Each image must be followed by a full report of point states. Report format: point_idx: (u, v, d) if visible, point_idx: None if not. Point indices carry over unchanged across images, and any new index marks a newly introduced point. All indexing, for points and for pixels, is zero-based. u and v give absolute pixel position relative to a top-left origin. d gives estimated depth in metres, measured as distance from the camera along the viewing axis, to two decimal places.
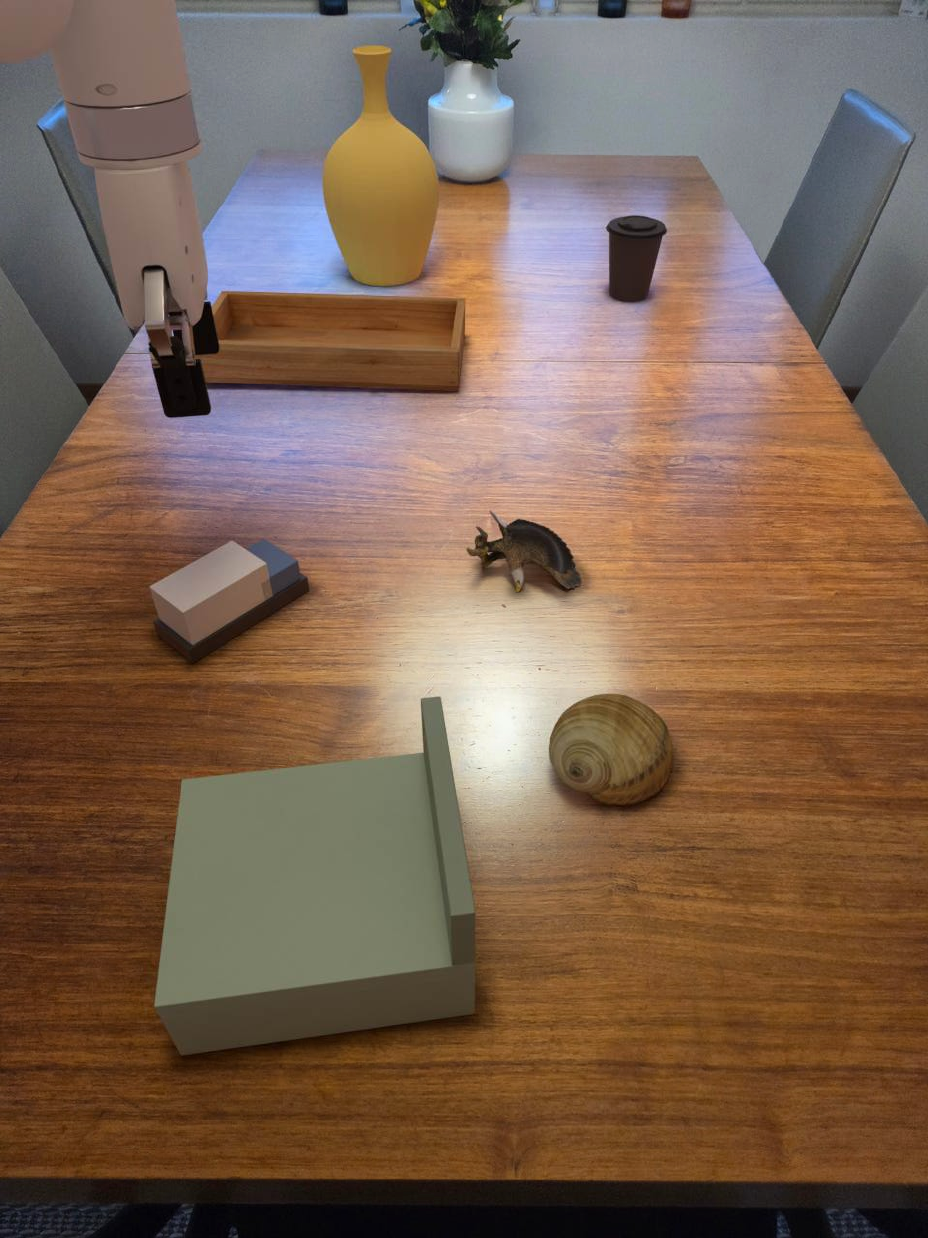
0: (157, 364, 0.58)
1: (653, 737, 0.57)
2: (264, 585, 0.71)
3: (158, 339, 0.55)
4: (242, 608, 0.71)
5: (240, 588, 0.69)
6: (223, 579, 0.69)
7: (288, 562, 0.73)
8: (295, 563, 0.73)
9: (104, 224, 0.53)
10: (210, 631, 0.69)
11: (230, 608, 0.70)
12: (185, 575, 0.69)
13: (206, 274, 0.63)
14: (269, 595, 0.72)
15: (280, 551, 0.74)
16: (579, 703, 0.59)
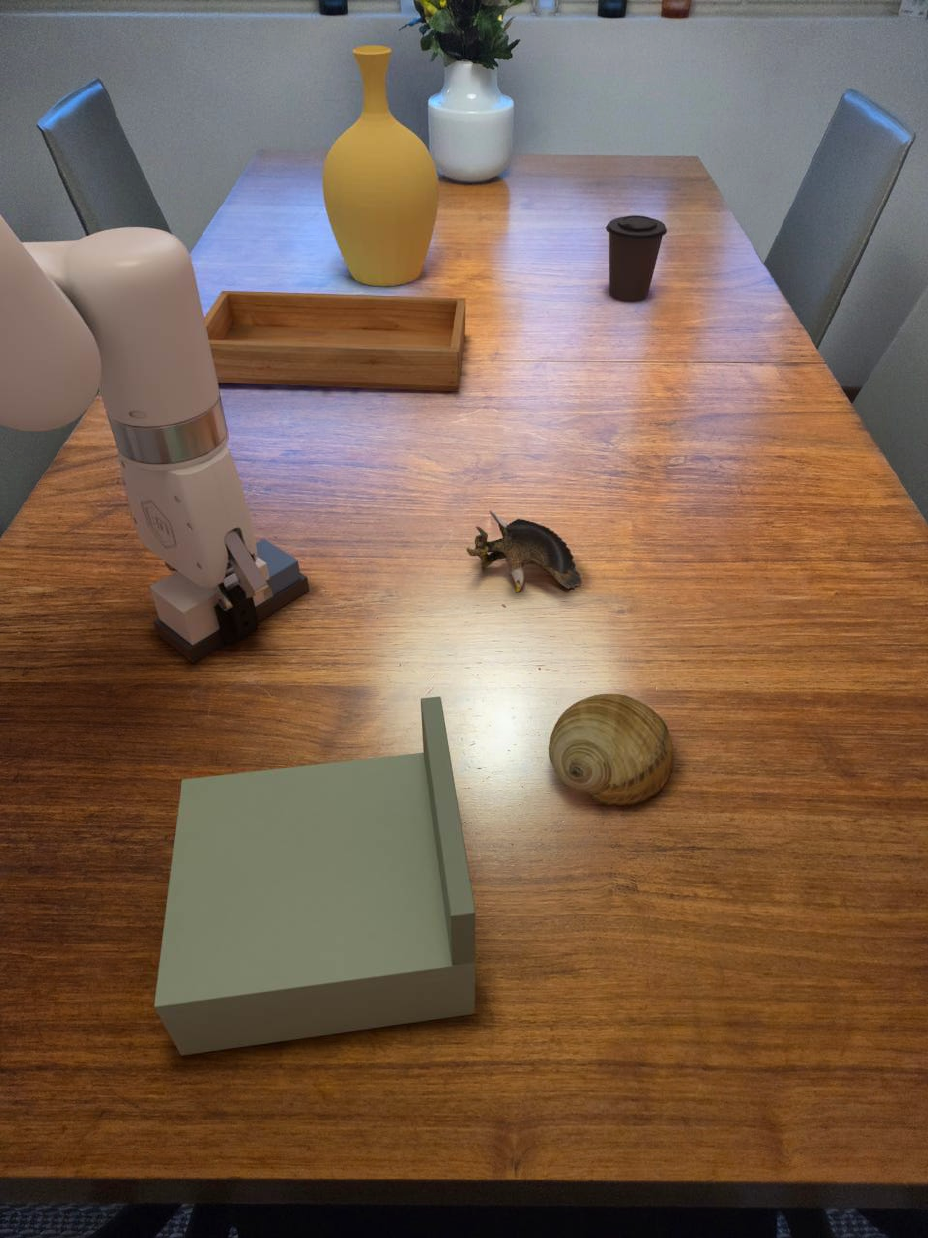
0: (230, 608, 0.67)
1: (653, 737, 0.57)
2: None
3: None
4: None
5: None
6: None
7: (288, 562, 0.73)
8: (295, 563, 0.73)
9: (192, 513, 0.60)
10: (210, 631, 0.69)
11: None
12: None
13: None
14: (268, 595, 0.72)
15: (280, 551, 0.74)
16: (579, 703, 0.59)
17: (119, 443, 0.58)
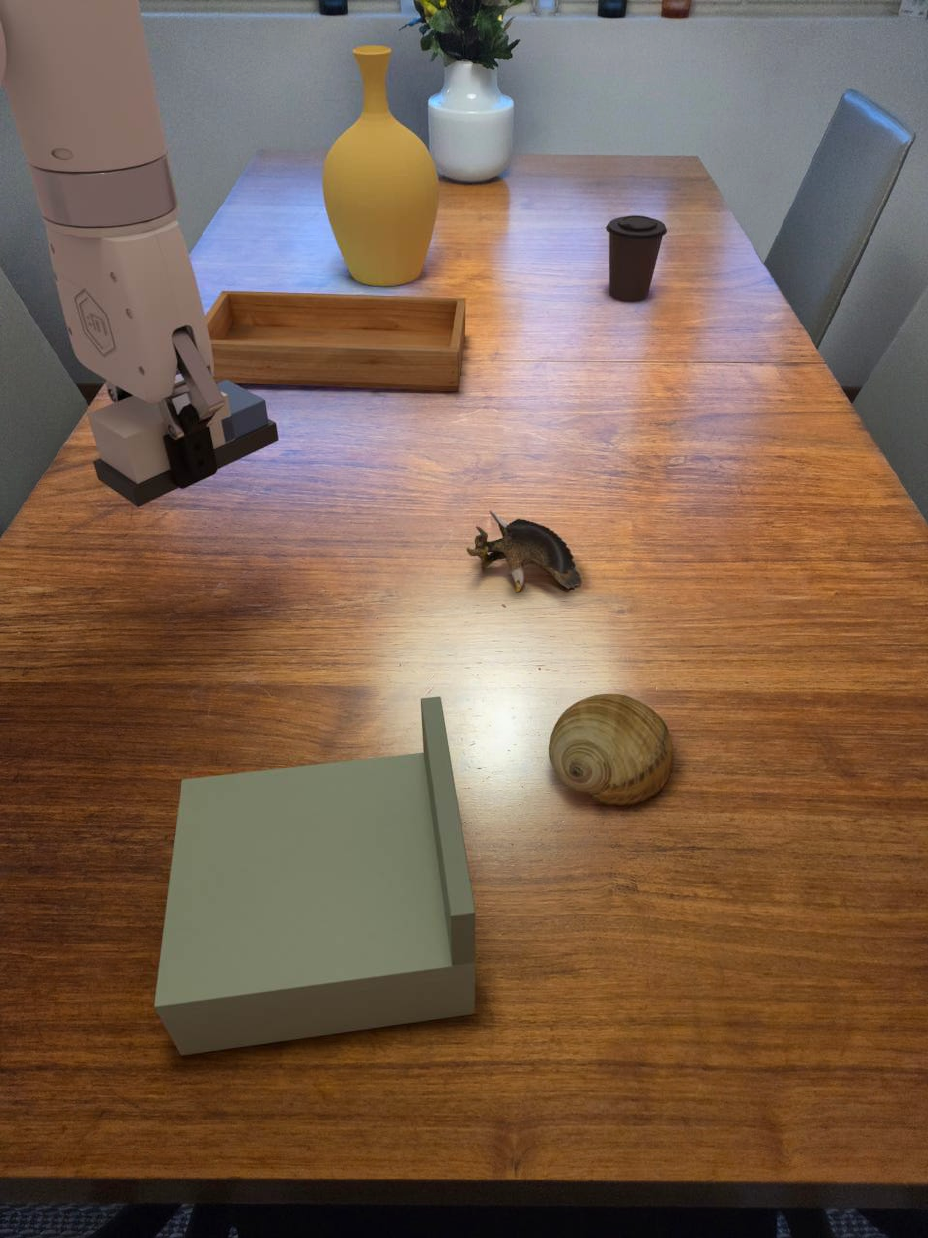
0: (182, 436, 0.57)
1: (654, 737, 0.57)
2: (225, 423, 0.61)
3: (211, 412, 0.55)
4: None
5: None
6: (175, 407, 0.59)
7: (254, 401, 0.63)
8: (262, 402, 0.63)
9: (131, 295, 0.49)
10: (159, 469, 0.59)
11: None
12: (130, 404, 0.59)
13: None
14: (230, 437, 0.62)
15: (245, 391, 0.64)
16: (579, 703, 0.59)
17: (43, 203, 0.48)
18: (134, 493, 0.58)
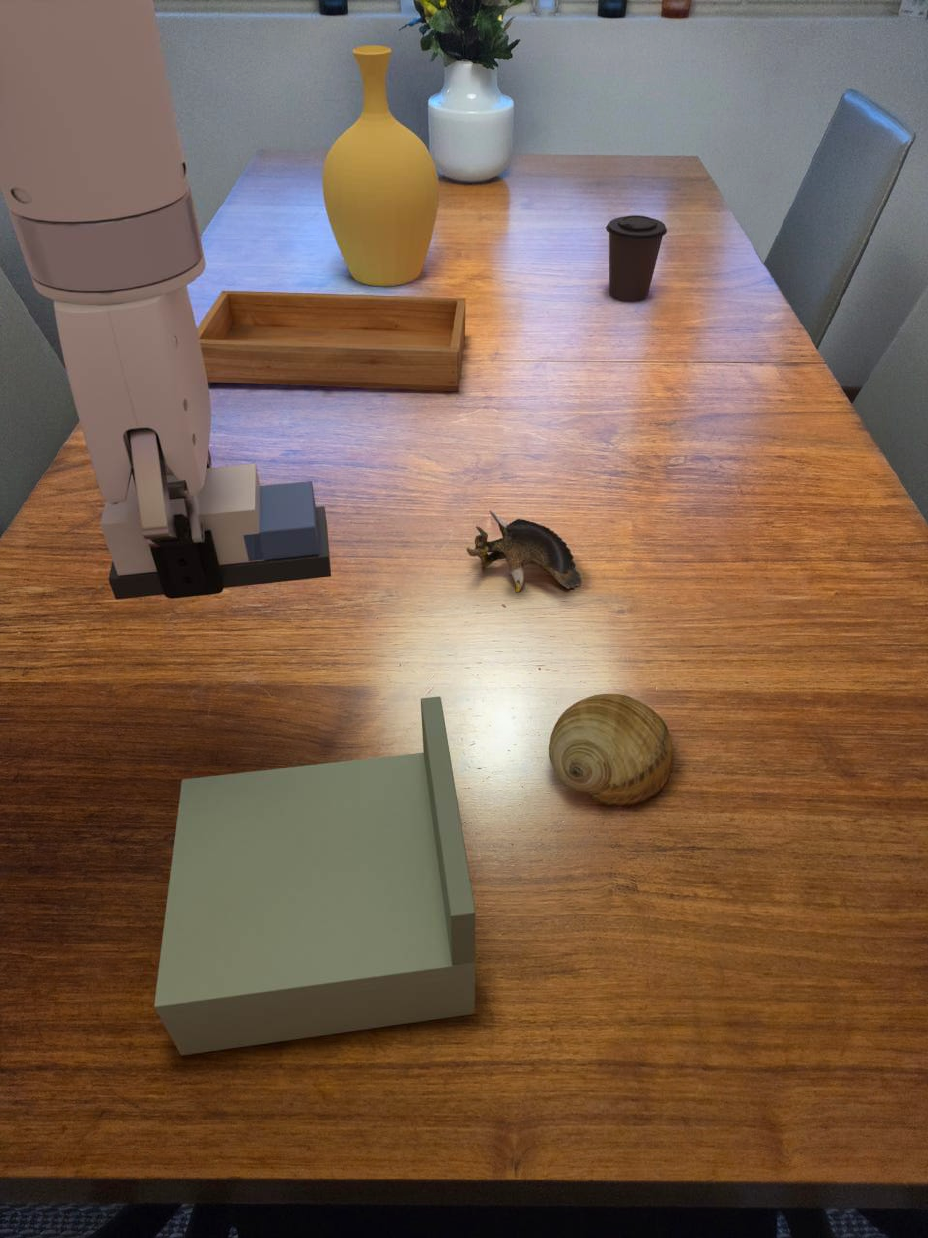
0: (157, 546, 0.45)
1: (653, 737, 0.57)
2: (250, 540, 0.48)
3: (160, 538, 0.42)
4: None
5: (205, 528, 0.47)
6: None
7: (301, 523, 0.48)
8: (309, 529, 0.48)
9: (70, 377, 0.38)
10: (149, 568, 0.48)
11: None
12: None
13: (209, 413, 0.47)
14: (256, 557, 0.49)
15: (309, 505, 0.49)
16: (579, 703, 0.59)
17: None
18: (110, 584, 0.48)
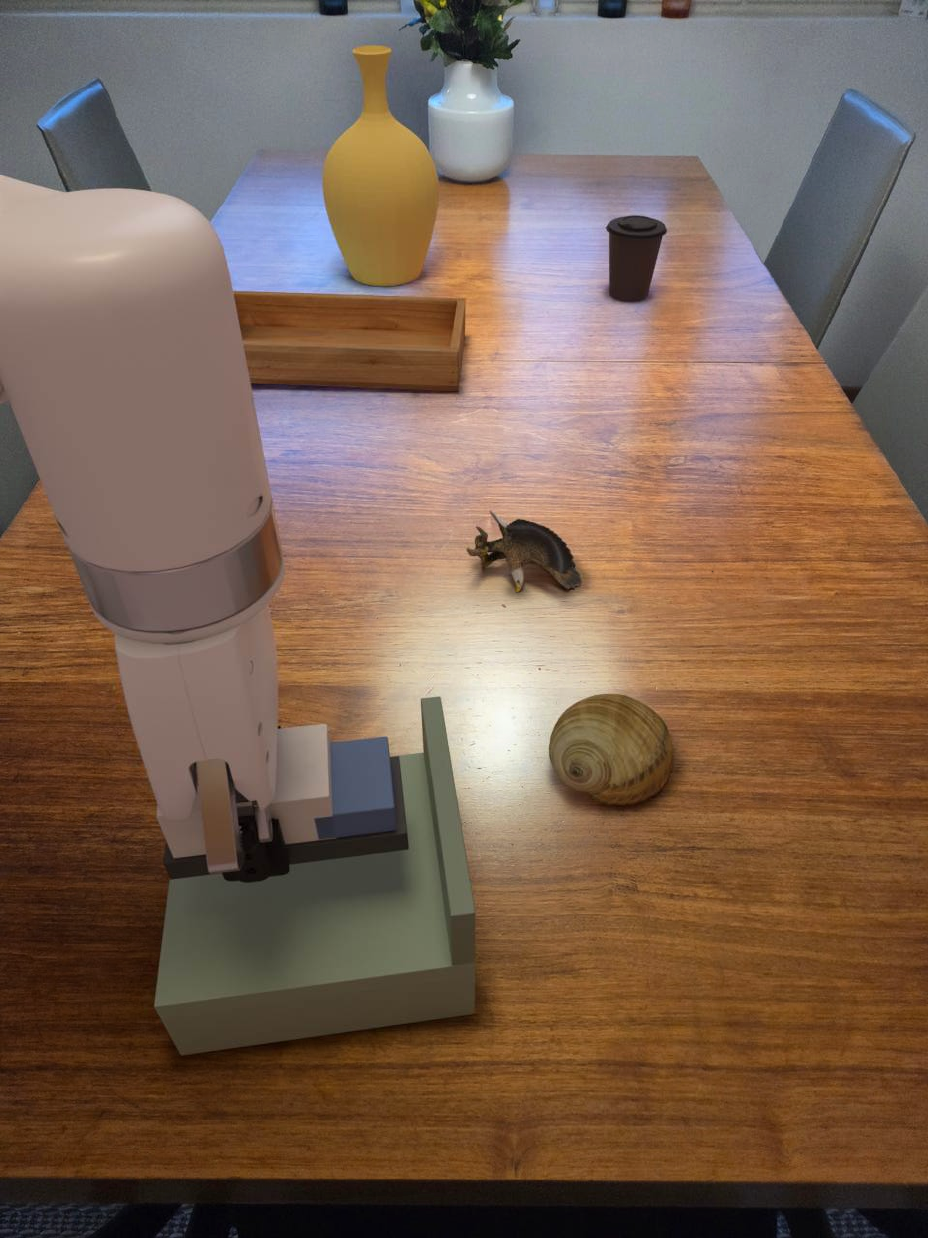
0: None
1: (654, 737, 0.57)
2: (321, 822, 0.43)
3: None
4: None
5: (272, 814, 0.42)
6: None
7: (379, 802, 0.43)
8: (388, 809, 0.43)
9: (130, 716, 0.33)
10: None
11: None
12: None
13: None
14: (327, 836, 0.43)
15: (387, 774, 0.44)
16: (579, 703, 0.59)
17: None
18: (165, 868, 0.43)
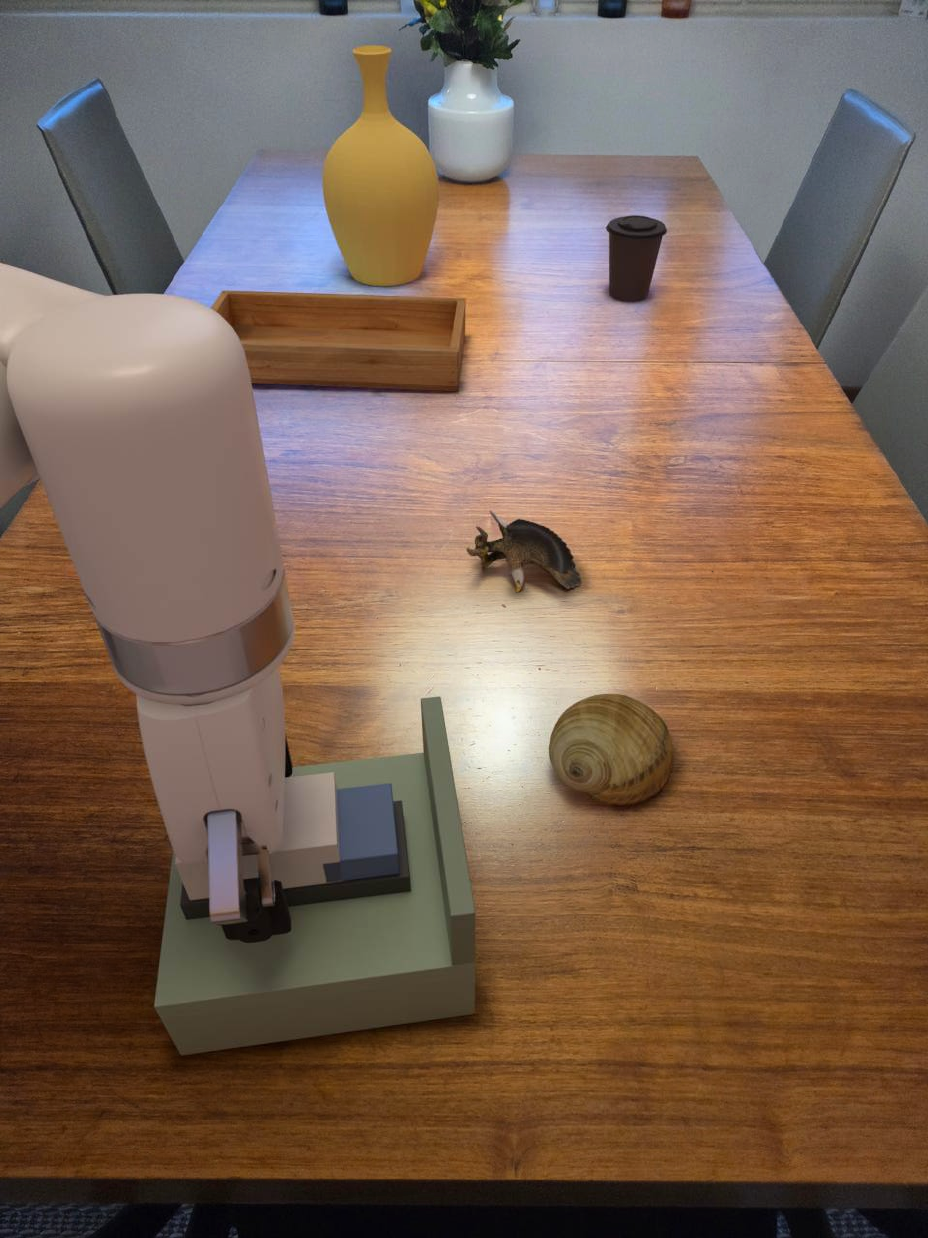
0: None
1: (653, 737, 0.57)
2: (329, 867, 0.45)
3: (228, 922, 0.36)
4: (284, 883, 0.46)
5: (283, 861, 0.44)
6: None
7: (383, 848, 0.46)
8: (392, 855, 0.45)
9: (150, 770, 0.35)
10: None
11: None
12: None
13: None
14: (335, 879, 0.46)
15: (390, 821, 0.47)
16: (579, 703, 0.59)
17: None
18: (182, 909, 0.46)
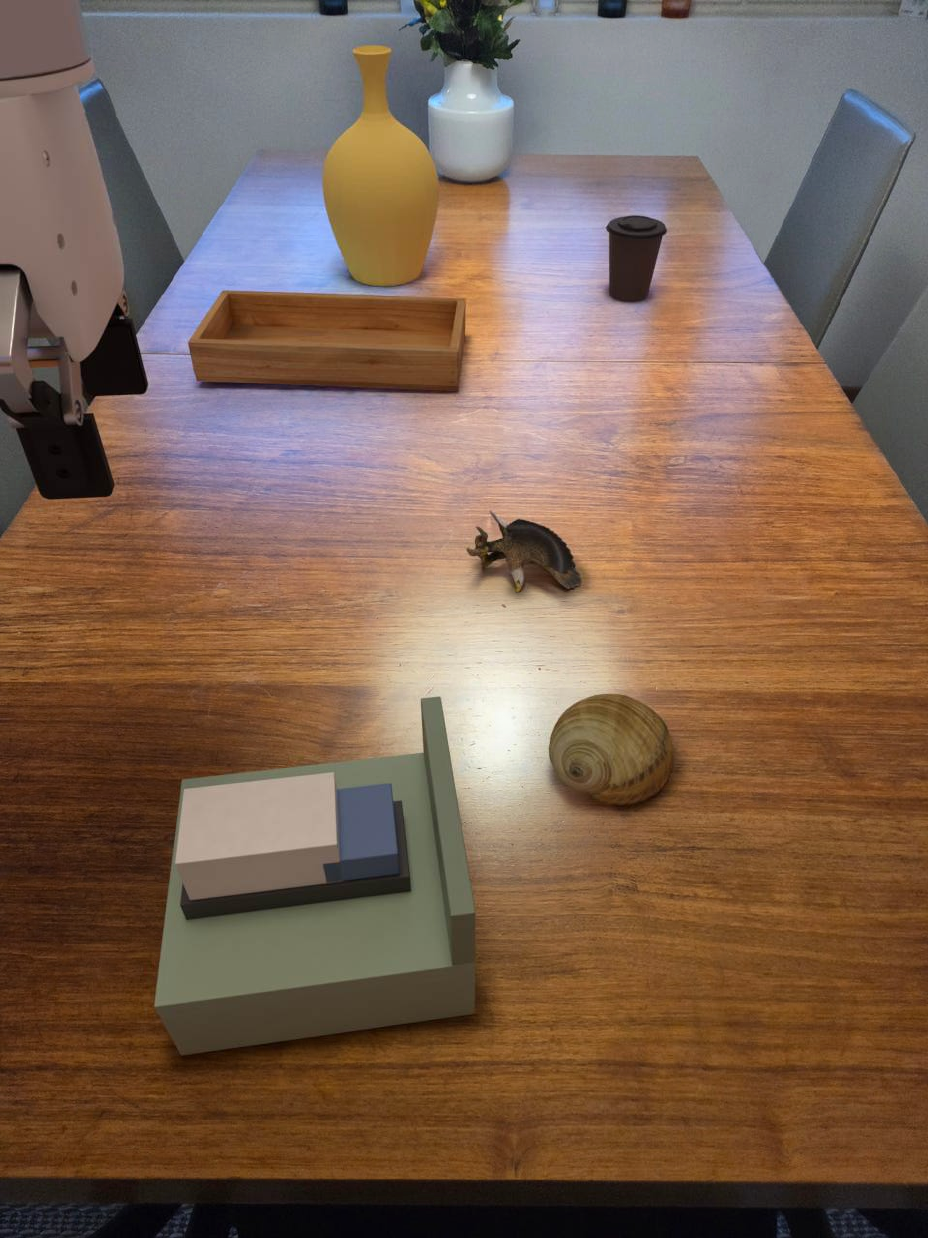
0: (18, 422, 0.36)
1: (653, 737, 0.57)
2: (329, 867, 0.45)
3: (5, 387, 0.33)
4: (284, 883, 0.46)
5: (283, 861, 0.44)
6: (266, 836, 0.44)
7: (383, 848, 0.46)
8: (392, 855, 0.45)
9: None
10: (222, 893, 0.46)
11: (261, 877, 0.45)
12: (233, 798, 0.46)
13: (117, 279, 0.41)
14: (335, 879, 0.46)
15: (390, 821, 0.47)
16: (579, 703, 0.59)
17: None
18: (182, 909, 0.46)
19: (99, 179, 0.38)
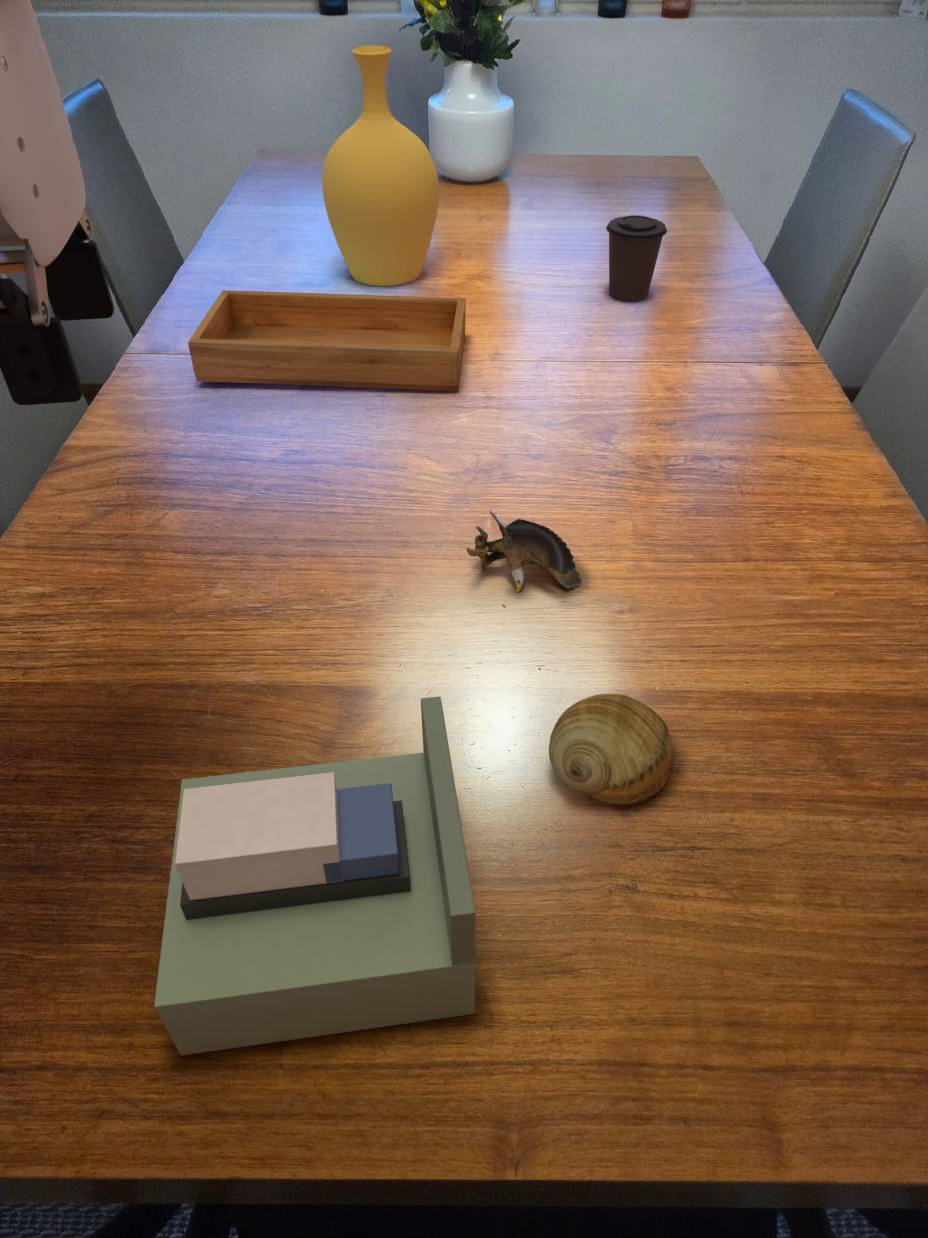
0: None
1: (653, 738, 0.57)
2: (329, 867, 0.45)
3: None
4: (284, 883, 0.46)
5: (283, 861, 0.44)
6: (266, 836, 0.44)
7: (383, 848, 0.46)
8: (392, 855, 0.45)
9: None
10: (222, 893, 0.46)
11: (261, 877, 0.45)
12: (233, 798, 0.46)
13: (79, 197, 0.43)
14: (335, 879, 0.46)
15: (390, 821, 0.47)
16: (579, 703, 0.59)
17: None
18: (182, 909, 0.46)
19: (57, 97, 0.41)
